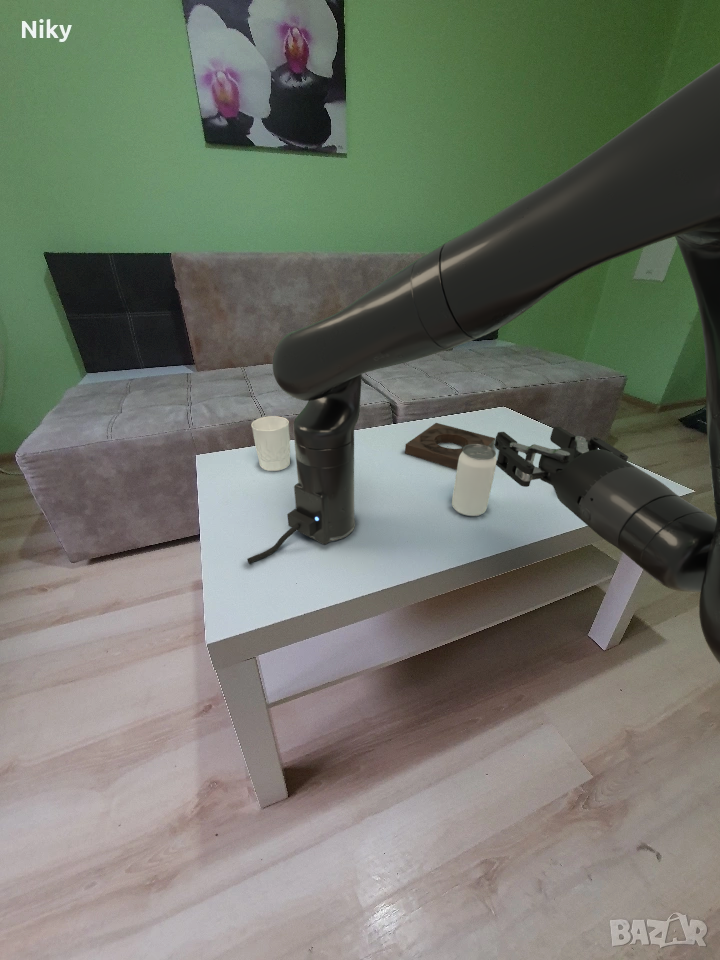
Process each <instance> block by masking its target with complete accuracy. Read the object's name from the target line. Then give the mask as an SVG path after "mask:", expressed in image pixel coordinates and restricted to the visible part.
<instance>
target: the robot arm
mask: <svg viewBox="0 0 720 960" xmlns="http://www.w3.org/2000/svg"><path fill="white" fill-rule="evenodd" d="M671 238H674V239H675V240H676V243H677V245H678V248H679V251H680V254H681V256H682V259H683V261H684V264H685V267H686V270H687V272H688V276H689V279H690V281H691V284H692V288H693V291H694V294H695V298H696V299H695V300H696V302H697V307H698V311H699V317H700V324H701V329H702V339H703V345H704V346H703V347H704V357H705V358H704V360H705V399H706V401H705V409H706V410H705V413H706V414H705V415H706V438H707V450H708V451H707V453H708V460H709V461H708V462H709V471H710V480H711V488H712V497H713V505H714V511H715V516H716V517H715V516H713V515H711V514H709V513H707V512H706V511H704V510H702V509H701V508H699V507H697V506H696V505H694V504H692V503H691V502H690V501H687V500H685V499H684V498H682V496H680V495H679V494H677V493H675V491H673V490H672V489H671V488H670V487H668V485H666V484H664V483H663V482H662V481H660V480H658V479H657V478H656V477H653V476H652V475H650V474H649V473H647V472H645V471H643V470H642V469H640V468H638V467H637V466H635V465H633V464H631V463H630V462H628V459H629V456H628V455H627V454H626V453H623V452H622V451H621V450H619V449H618V448H616V447H614V446H613V445H611V444H610V443H608V442H606V441H605V440H603V439H602V438H600V437H597V436H591V437H590V439H586V438H585V437H584V436H582V435H574V434H573V433H571V432H570V431H568V430H566V429H565V428H563V427H561V426H554V427H552V430H551V433H550V437H549V440H550V442H551V443H553V444H554V445H556V446H557V447H558V448H549V447H546V446H542V445H538V444H535V443H534V444H531V445H530V446H529V445H525V444H522V443H519V442H518V441H517V440H515V439H514V438H513V437H512V436H511V435H509V434H507V432H505V431H498V432H497V434H496V435H495V443H494V448H495V449H497V450H498V453H497V458H496V467H498V468H499V469H500V470H501V471H502V472H504V473H505V474H506V475H507V476H508V477H510V478H511V479H512V480H513V481H514V482H516V483H517V484H518V485H519V486H521V487H524V488H528V487H530V486H531V482H532V481H534V480H535V481H536V480H541V481H542V482H543V483H547V484H548V485H550V486H552V488H553V490H554V492H555V495H556V497H557V499H558V501H559V502H560V503H561V505H563V506H564V507H566V508H567V509H568V510H569V511H570V512H571V513H572V514H573V515H574V516H576V517H577V518H578V519H580V520H581V521H582V522H583V523H584V524H585V525H586V526H587V527H589V528H590V529H591V530H592V531H593V532H594V533H596V534H597V535H598V536H599V537H601V538H602V539H603V540H605V541H606V542H607V543H608V544H610V545H612V546H614V547H615V548H617V549H618V550H619V551H621V552H622V553H623V554H624V555H625V556H627V557H628V558H629V559H630V560H631V561H632V562H634V563H635V564H636V565H637V566H638V567H640V568H641V569H642V570H643V571H644V572H645V573H647V574H648V575H649V576H650V577H651V578H653V579H654V580H655V581H656V582H658V583H660V585H662V586H664V587H666V588H668V589H670V590H673V591H675V592H684V593H685V592H686V593H700V595H699V602H698V615H699V617H698V618H699V623H700V628H701V633H702V634H703V637H704V640H705V643H706V645H707V646H708V649H709V651H710V652H711V654H712V655H713V657H714V658H715V660H716V661H717V662H718V663H719V665H720V62H718V63H717V64H715V65H714V66H712V67H710V68H709V69H707V70H706V71H705V72H703V73H702V74H700V75H699V76H698V77H696V78H695V79H693V80H692V81H690V82H689V83H687V84H686V85H685V86H683V87H681V88H680V89H678V91H676V92H675V93H673V94H672V95H670V96H669V97H668V98H666V99H665V100H664V101H662V102H661V103H660V104H658V105H657V106H656V107H654V108H653V109H651V110H650V111H648V112H647V113H645V115H643V116H641V117H640V118H639V119H637V120H636V121H634V122H633V123H632V124H630V125H629V126H628V127H626V128H625V129H624V130H622V131H621V132H619V133H618V134H617V135H615V136H614V137H612V138H611V139H610V140H608V141H607V142H605V143H604V144H603V145H601V146H600V147H599V148H597V149H596V150H594V151H593V152H592V153H590V154H588V155H587V156H586V157H585V158H583V159H582V160H580V161H579V162H577V163H576V164H574V165H573V166H572V167H570V168H568V169H567V170H565V171H564V172H562V173H561V174H560V175H558V176H556V177H554V178H553V179H551V180H550V181H548V182H546V183H544V184H543V185H542V186H540V187H538V188H536V189H534V190H532V191H531V192H529V193H528V194H526V195H524V196H522V197H521V198H519V199H517V200H515V201H514V202H513V203H511V204H509V205H508V206H506V207H505V208H502V209H501V210H500V211H498V212H496V213H495V214H493V215H491V216H490V217H488V218H487V219H485V220H483V221H482V222H480V223H479V224H477V225H475V226H474V227H471V228H470V229H469V230H466V231H465V232H463V233H461V234H459V235H457V236H455V237H454V238H451V239H449V240H447V241H446V242H444V243H443V244H440V245H439V246H437V247H436V248H434V249H433V250H431V251H429V252H428V253H426V254H424V255H422V256H420V257H419V258H418V259H416V260H415V261H413V262H411V263H410V264H409V265H407V266H406V267H404V268H403V269H400V270H399V271H398V272H396V273H395V274H394V275H392V276H390V277H389V278H387V279H385V280H384V281H382V282H381V283H380V284H378V285H377V286H375V287H373V288H371V290H369V291H368V292H366V293H364V294H363V295H362V296H361V297H359V298H357V299H356V300H354V301H353V302H352V303H351V304H349V305H348V306H346V307H344V308H343V309H341V310H340V311H337V312H336V313H334V314H332V315H330V316H328V317H326V318H323V319H321V320H319V321H316V322H314V323H312V324H310V325H307V326H304V327H302V328H299V329H296V330H293V331H291V332H289V333H287V334H285V336H284V337H283V338H282V339H281V340H280V341H279V343H278V344H277V346H276V348H275V350H274V354H273V357H272V373H273V376H274V379H275V381H276V383H277V386H279V388H280V389H281V390H282V391H283V392H284V393H286V395H288V396H290V397H291V398H294V399H297V400H300V401H305V402H306V401H307V402H306V404H305V406H304V408H302V410H301V411H300V413H299V414H298V415H296V417H295V419H294V420H293V427H292V428H293V430H292V431H293V439H294V440H293V441H294V451H295V463H296V472H297V473H296V474H297V483H296V484H294V486H293V491H294V500H295V501H294V502H295V508H294V509H292V510H291V511H289V512H288V513H287V514H286V515H287V524H288V527H290V528H289V529H288V530H287V531H286V532H285V533H283V534H282V536H280V537H279V539H278V540H277V542H276V543H275V544H274V545H273V546H271V547H270V548H268V549H267V550H265V551H262V552H260V553H257V554H255V555H252V556H250V557H248V558H247V562H248V564H249V565H250V564H252V563H254V562H257V561H259V560H262V559H265V558H267V557H269V556H270V555H272V554H274V553H276V552H277V551H278V550H279V549H280V548H281V547H282V545H283V544H284V542H285V541H286V540H288V539H289V537H291V536H292V535H293V534H294V533H296V532H299V533H300V534H302V535H304V536H306V537H308V538H309V539H312V540H314V541H316V542H318V543H319V544H322V545H327V544H328V543H330V542H335V541H339V540H342V539H344V538H346V537H348V536H349V535H351V533H353V531H354V529H355V526H356V518H355V428H356V426H357V422H359V421H358V420H359V417H360V413H361V397H362V396H361V395H362V378H363V377H362V375H363V374H365V373H370V372H372V371H376V370H380V369H385V368H389V367H393V366H397V365H401V364H405V363H408V362H413V361H416V360H419V359H423V358H426V357H429V356H432V355H435V354H438V353H442V352H445V351H448V350H451V349H454V348H456V347H458V346H461V345H464V344H467V343H470V342H471V341H474V340H477V339H480V338H482V337H485V336H487V335H488V334H491V333H493V332H495V331H497V330H499V329H500V328H502V327H504V326H505V325H508V324H509V323H511V322H512V321H514V320H515V319H516V318H518V317H520V316H521V315H522V314H523V313H525V312H526V311H528V310H529V309H531V308H533V306H535V305H536V304H537V303H539V302H540V301H541V300H543V299H544V298H545V297H547V296H548V295H550V294H551V293H553V291H555V290H557V289H558V288H559V287H560V286H562V285H564V284H566V283H567V282H568V281H570V280H572V279H573V278H575V277H577V276H579V275H580V274H583V273H584V272H587V271H588V270H590V269H593V268H595V267H598V266H600V265H602V264H604V263H606V262H609V261H612V260H614V259H618V258H620V257H622V256H625V255H628V254H630V253H633V252H635V251H638V250H642V249H643V248H646V247H648V246H651V245H654V244H657V243H660V242H662V241H666V240H669V239H671ZM519 453H523V454H525V458H524V457H523V456H521V455H520V454H519ZM536 454H538V455H540V458H539V461H538V467H537V466H535V465H534V462H535V458H536Z"/></svg>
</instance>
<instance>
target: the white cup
mask: <svg viewBox="0 0 720 960" xmlns="http://www.w3.org/2000/svg"><path fill="white" fill-rule="evenodd" d="M250 426H251V432H252V436H253V439H254V440H253V442H254V445H255V449H256V455H257V457H258V463H259V466H260V468H261V469H262V470H265V471H267V472H279V471H282V470H284V469H287V468H288V467H289V466H290V465H291V436H290V435H291V433H290V421H289V419H287V418H286V417H283V416H278V415H270V416H262V417H259V418H256V419H254V420H253V421H252V422H251V424H250Z"/></svg>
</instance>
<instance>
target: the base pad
mask: <svg viewBox="0 0 720 960" xmlns="http://www.w3.org/2000/svg"><path fill="white" fill-rule="evenodd" d="M495 439H496V437H493V436H489V435H486V434H481V433H477V432H473V431H469V430H465V429H462V428H458V427H454V426H450V425H447V424H442V423H438V422H435V423H433V424H432V425H431V426H429V427H428V428H426V429H425V430H424V431H422V432H421V433H419V434H418V435H417V436H415V437H414V438H413V439H410V441H408V442H406V443H405V445H404V447H405V448H404V449H405V450H404V454H405V455H409V456H412V457H415V458H418V459H421V460H425V461H427V462H431V463H433V464H436V465H440V466H443V467H446V468H450V469H453V470H455V471H457V466H458V460H459V456H460V454H461V453H462V451H463V448H464V447H465V446H466V445H470V444H481V445H485V446H488V447H490V448H492V449H494V448H495V446H494V444H495ZM440 444H454V445H458V446H460V447H461V448H451V447H445V446H441V445H440Z"/></svg>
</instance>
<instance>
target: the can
mask: <svg viewBox="0 0 720 960" xmlns="http://www.w3.org/2000/svg"><path fill="white" fill-rule="evenodd" d="M462 448H463V451H462V453H461V454H460V456H459V460H458V466H457V470H456V474H455V478H454V486H453V491H452V499H451V506H452V507H453V509H454V510H455V512H457V513H458V514H460V515H462V516H466V517H480V516H482V515H483V514H484V513H485V512H486V511H487V509H488V506H489V501H490V496H491V491H492V487H493V481H494V477H495V472H496V467H497V465H496V461H497V458H496V456H497V452H496V450H495V449H494V448H490V447H488V446H485V445H481V444H470V445H466V446H465V447H462Z"/></svg>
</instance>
